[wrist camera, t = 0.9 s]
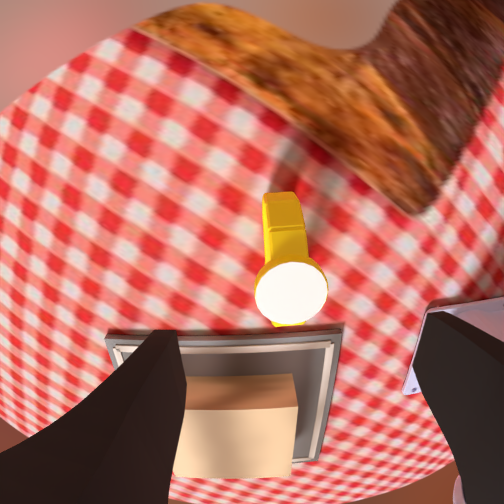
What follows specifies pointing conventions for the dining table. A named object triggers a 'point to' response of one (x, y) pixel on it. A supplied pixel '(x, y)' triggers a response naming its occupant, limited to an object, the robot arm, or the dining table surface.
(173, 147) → the dining table surface
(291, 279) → the watch
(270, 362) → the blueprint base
